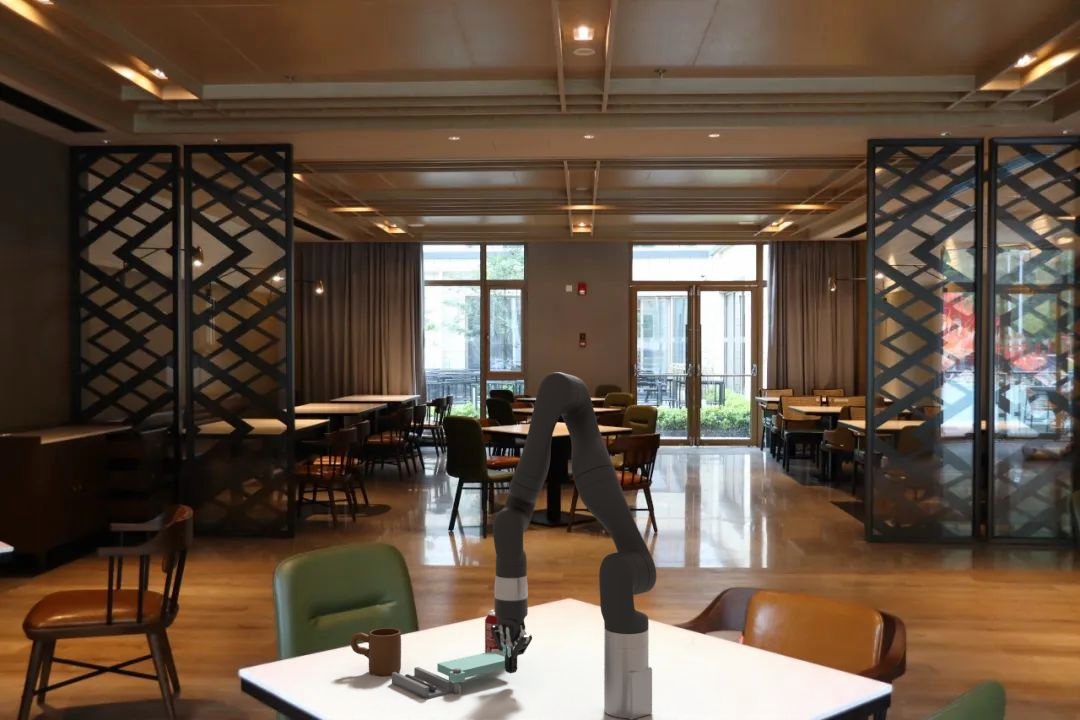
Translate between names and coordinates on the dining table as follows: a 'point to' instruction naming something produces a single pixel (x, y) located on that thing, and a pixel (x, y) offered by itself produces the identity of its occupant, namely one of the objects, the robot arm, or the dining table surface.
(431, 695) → the grey rail
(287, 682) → the dining table surface
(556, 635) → the dining table surface
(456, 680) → the cover
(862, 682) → the dining table surface
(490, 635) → the soda can
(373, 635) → the mug
